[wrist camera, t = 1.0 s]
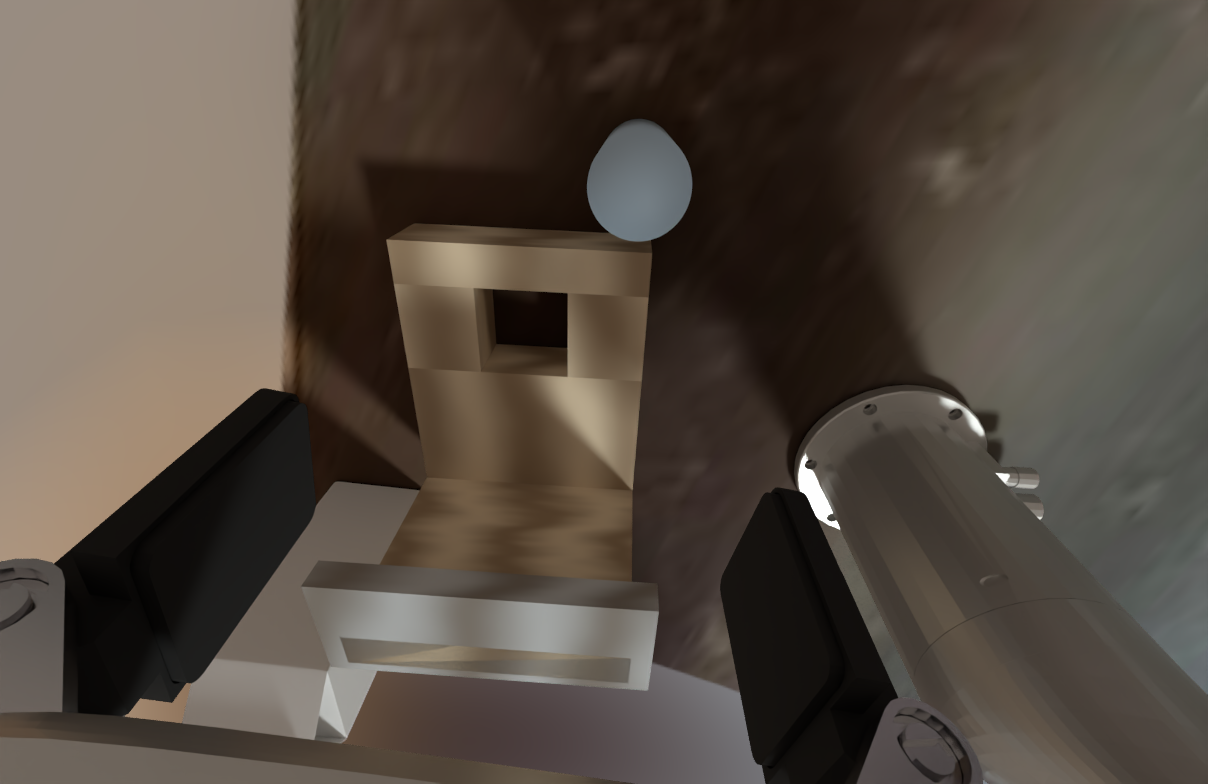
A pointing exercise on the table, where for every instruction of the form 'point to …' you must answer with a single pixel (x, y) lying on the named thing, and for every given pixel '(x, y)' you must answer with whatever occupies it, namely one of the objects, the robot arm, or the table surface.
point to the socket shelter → (510, 472)
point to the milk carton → (299, 630)
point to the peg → (639, 182)
